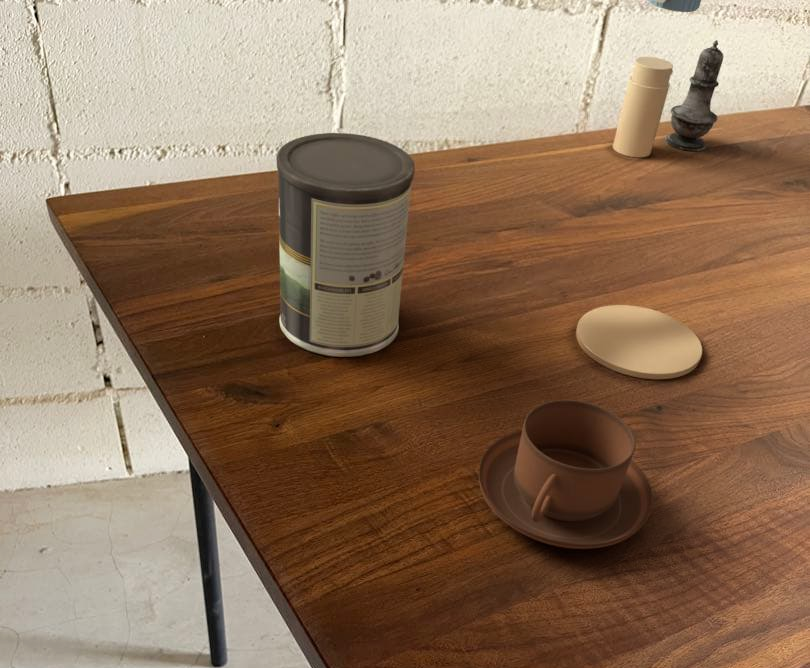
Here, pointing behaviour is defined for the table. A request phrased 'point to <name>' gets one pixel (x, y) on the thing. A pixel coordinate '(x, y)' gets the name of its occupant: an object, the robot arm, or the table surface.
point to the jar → (643, 106)
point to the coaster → (639, 342)
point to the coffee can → (342, 241)
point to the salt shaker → (697, 104)
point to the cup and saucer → (568, 477)
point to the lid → (679, 5)
